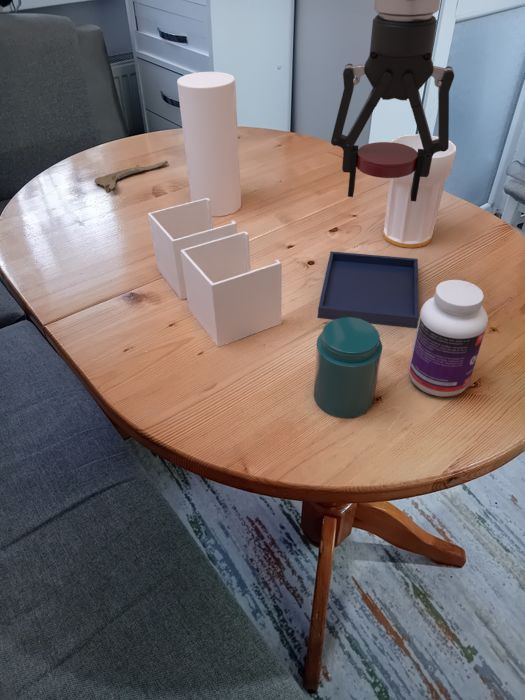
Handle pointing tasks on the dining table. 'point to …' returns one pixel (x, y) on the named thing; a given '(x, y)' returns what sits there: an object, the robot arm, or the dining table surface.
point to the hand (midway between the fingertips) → (381, 194)
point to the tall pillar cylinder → (211, 139)
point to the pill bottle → (448, 338)
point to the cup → (416, 216)
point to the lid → (386, 160)
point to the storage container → (215, 272)
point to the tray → (371, 289)
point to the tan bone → (123, 175)
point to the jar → (347, 367)
